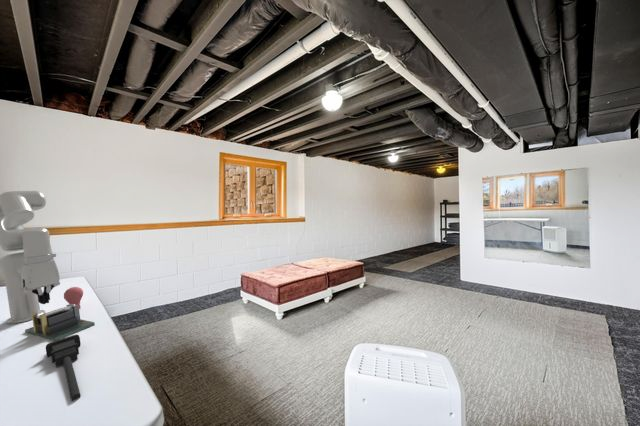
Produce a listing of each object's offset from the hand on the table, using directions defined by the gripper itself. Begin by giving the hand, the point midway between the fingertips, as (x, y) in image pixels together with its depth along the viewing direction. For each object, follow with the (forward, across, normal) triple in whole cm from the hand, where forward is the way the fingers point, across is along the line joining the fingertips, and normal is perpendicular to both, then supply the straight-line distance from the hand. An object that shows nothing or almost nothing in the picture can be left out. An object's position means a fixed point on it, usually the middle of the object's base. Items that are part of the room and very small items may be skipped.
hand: (44, 303), depth 109 cm
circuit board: (+12, -3, +1) cm, 13 cm away
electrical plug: (+12, +12, +42) cm, 45 cm away
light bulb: (+13, -17, -17) cm, 27 cm away
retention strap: (+6, -3, +1) cm, 7 cm away
